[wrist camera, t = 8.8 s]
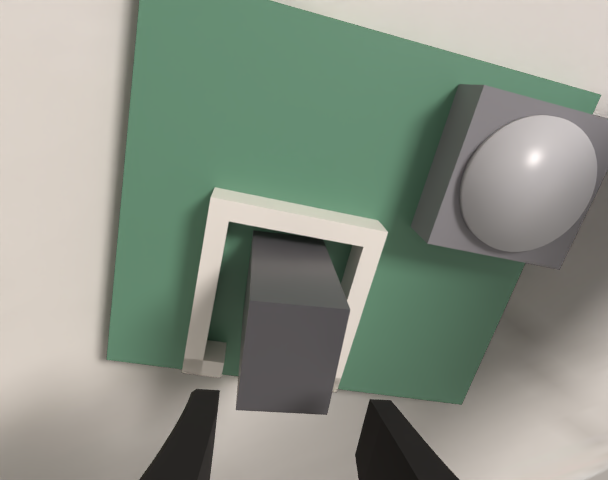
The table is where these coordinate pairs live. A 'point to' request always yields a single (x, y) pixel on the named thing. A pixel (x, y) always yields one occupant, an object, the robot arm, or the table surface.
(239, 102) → the board
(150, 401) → the table surface
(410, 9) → the table surface
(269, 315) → the plug
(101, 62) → the table surface
